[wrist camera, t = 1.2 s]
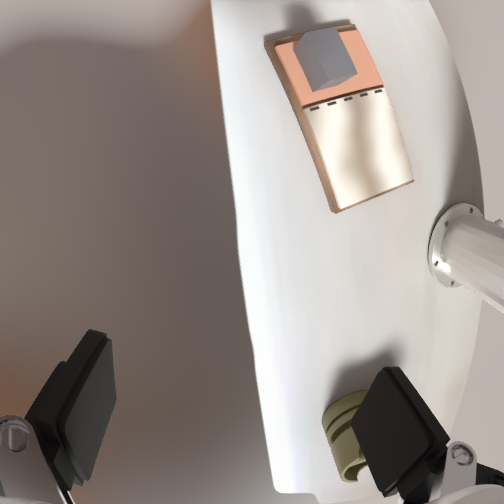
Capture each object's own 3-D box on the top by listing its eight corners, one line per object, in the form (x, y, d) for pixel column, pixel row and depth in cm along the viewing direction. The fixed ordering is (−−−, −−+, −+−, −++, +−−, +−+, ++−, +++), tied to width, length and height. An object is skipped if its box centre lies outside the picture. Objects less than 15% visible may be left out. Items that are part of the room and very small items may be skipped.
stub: (355, 32, 24) (377, 13, 19) (379, 85, 26) (407, 74, 21) (274, 48, 25) (285, 26, 19) (301, 106, 27) (318, 95, 21)
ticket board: (349, 28, 25) (357, 21, 23) (407, 180, 32) (418, 182, 29) (264, 46, 26) (267, 38, 24) (331, 211, 32) (338, 215, 30)
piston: (404, 464, 34) (341, 488, 34) (380, 418, 45) (324, 438, 45) (414, 431, 30) (339, 461, 30) (382, 381, 41) (318, 403, 41)
